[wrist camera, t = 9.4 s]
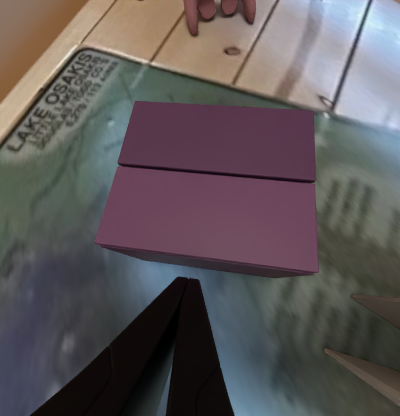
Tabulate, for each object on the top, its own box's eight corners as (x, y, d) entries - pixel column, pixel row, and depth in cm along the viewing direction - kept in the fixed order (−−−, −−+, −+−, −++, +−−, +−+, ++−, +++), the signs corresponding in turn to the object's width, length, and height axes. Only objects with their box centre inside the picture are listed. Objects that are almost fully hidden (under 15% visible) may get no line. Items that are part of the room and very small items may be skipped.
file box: (275, 278, 21) (320, 274, 12) (142, 259, 22) (92, 244, 13) (278, 173, 24) (314, 109, 15) (162, 163, 25) (134, 99, 17)
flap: (315, 273, 12) (319, 272, 12) (97, 244, 14) (93, 243, 13) (312, 186, 14) (315, 183, 14) (119, 168, 15) (117, 165, 15)
